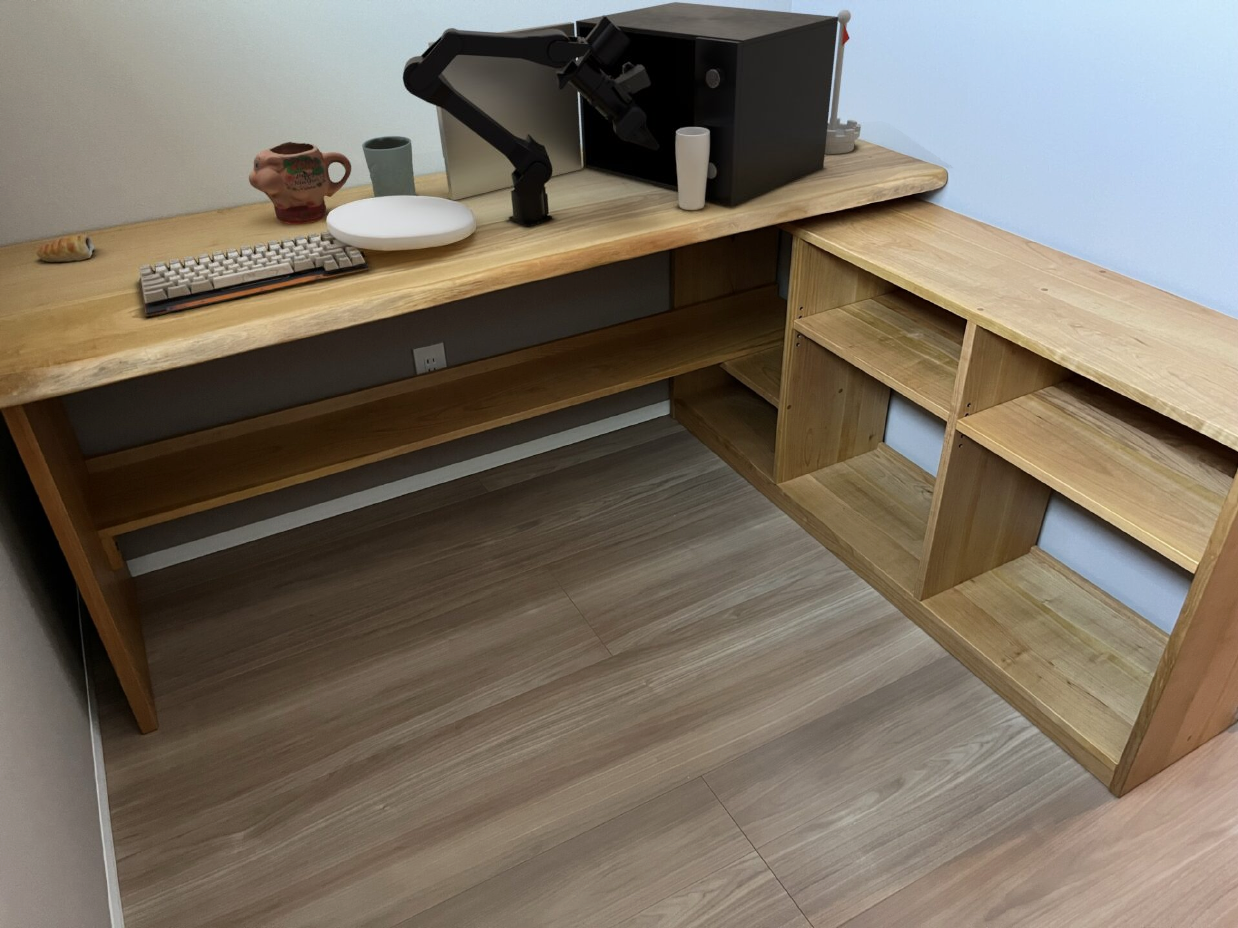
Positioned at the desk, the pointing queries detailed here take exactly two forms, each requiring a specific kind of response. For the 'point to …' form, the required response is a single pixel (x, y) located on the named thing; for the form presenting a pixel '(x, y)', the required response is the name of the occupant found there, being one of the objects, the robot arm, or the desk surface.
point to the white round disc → (401, 222)
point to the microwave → (720, 95)
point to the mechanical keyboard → (245, 271)
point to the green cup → (390, 165)
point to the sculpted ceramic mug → (297, 180)
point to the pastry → (67, 249)
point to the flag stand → (838, 133)
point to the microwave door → (508, 117)
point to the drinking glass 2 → (692, 166)
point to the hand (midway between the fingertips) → (653, 142)
